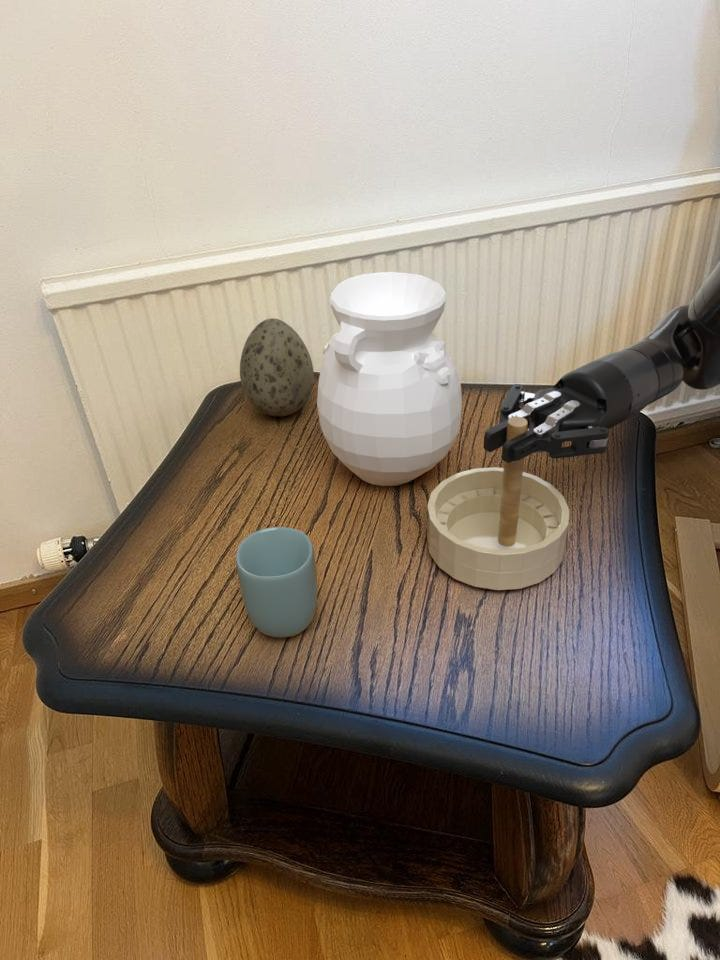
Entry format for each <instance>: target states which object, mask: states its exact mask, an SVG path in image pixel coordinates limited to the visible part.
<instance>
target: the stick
mask: <svg viewBox="0 0 720 960" xmlns="http://www.w3.org/2000/svg"><path fill="white" fill-rule="evenodd" d="M527 425H528V422H527V420H526V419H525V418H522V417H512V418H510V419H509V420H508V423H507V435H506V442H507V441H509V440H511V439H513V438H515V437H517V436H519V435H521V434H523V433H525V432H526V431H527ZM524 463H525V458H523V459H521V460H519V461H512V462H510V463H506V462H505V461H503V468H504V471H503V483H502V495H501V507H500V519H499V531H498V542H499V544H501V545H502V546H506V547H509V546H512V545H514V544H515V542H516V533H517V523H518V513H519V504H520V494H521V484H522V474H523V472H524Z"/></svg>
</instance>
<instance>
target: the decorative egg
mask: <svg viewBox="0 0 720 960" xmlns="http://www.w3.org/2000/svg"><path fill="white" fill-rule="evenodd" d="M241 351H242V352H241V356H240V361H239V379H240V384H241V387H242V390H243V393H244V395H245V396H246V398H247V400H248V402H250V403H251V405H252V406H253V407H254V408H255V409H257V410H258V411H259V412H261V413H262V414H265V415H268V416H271V417H279V418H280V417H287V416H289V415H293V414H294V413H296V412H298V411H299V410H300V409H301V408H302V407H304V405H305V404H306V403H307V401H308V400H309V398H310V396H311V394H312V390H313V386H314V383H315V381H314V380H315V373H314V372H315V371H314V365H313V361H312V358H311V354H310V352H309V350H308V348H307V346H306V344H305V342H304V340H303V339H302V338H301V336H300V335H299V334H298V332H296V330H295V329H294V328H293V327H292V326H291V325H289V324H288V323H287V322H285V321H283V320H281V319H279V318H273V317H271V318H266V319H264V320H262V321H260V322H259V323H258V324H257V325H256V326H255V327H254V328H253V329H252V330H251V332H250V333H249V335H248V337H247V338H246V341H245V343H244V345H243V348H242V350H241Z"/></svg>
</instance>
